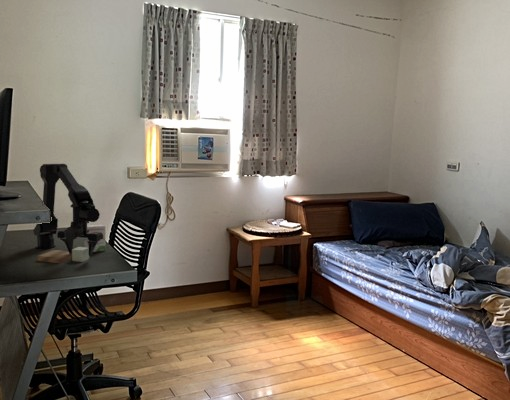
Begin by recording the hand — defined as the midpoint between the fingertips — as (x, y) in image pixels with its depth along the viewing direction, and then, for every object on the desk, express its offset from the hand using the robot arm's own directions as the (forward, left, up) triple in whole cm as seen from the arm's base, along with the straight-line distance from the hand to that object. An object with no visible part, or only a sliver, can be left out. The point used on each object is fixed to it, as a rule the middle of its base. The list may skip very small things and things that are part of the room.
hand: (80, 254), depth 209 cm
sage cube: (0, 0, -2) cm, 2 cm away
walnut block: (-10, -2, -3) cm, 11 cm away
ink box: (-3, +16, -2) cm, 17 cm away
